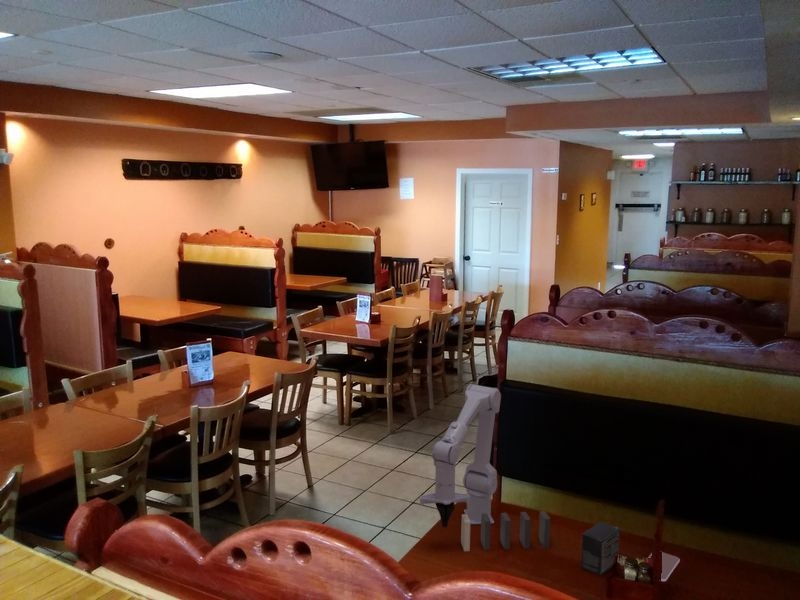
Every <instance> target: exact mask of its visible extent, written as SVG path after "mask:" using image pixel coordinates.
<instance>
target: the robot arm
mask: <svg viewBox="0 0 800 600" xmlns="http://www.w3.org/2000/svg"><path fill="white" fill-rule="evenodd" d="M464 393H465V394H464V402H465V403H464V405H463V406H462V409H461V411H460V413H459V416H458V417H457V420H456V421H452V422H451V423H450V425H449V426H448V428H447V430H446V431H445V433H444V435H443V436H442V438H441V440H438V441H437V442H435V443H434V444H433V447H432V451H431V458H432V461H433V465H434V467H435V473H434V474H435V475H434V476H435V477H434V478H435V479H434V480H435V482H434V485H435V486H434V487H435V488H434V489H435V490H434V493H430V494H426V495H425V494H424V495H420V496H419V503H420V505H421V506H423V505H425V504H435V506H436V509H437V511H438V514H439V517H440V523H441V524H440V525H441V527H442V528H448V524H449V521H450V518H451V515H452V514H453V512H454V511H455V508H456V505H455V503H466V509H464V510H463V512H464V514H467V515H468V518H469V520H470V525H481V514H485V513H487V515H488V517H489V519H490V521H491V524H494V523H495V520H494V519H493V516H492V515H491V514H492V513H491V512H492V510H491V509H492V508H491V506H492V495H493V494H495V492H496V491H497V488H498V472H497V469H495V467H494V466H492V464H491V463H490V460H491V453H492V446H493V445H492V443H493V435H494V429H495V427H494V426H495V417H496V414H498V413H499V412H500V406H501V399H502V393H501V392H500V390H499V389H498V388H497V387H490V386H485V385H484V386H483V385H477V384H475V383H470V384H469V385H468V386H467V387H466V389H465V391H464ZM477 414H478V423H477V429H476V430H477V433H476V438H475V439H476V440H475V449H474V457H473V461H472V462H471V463H469V464H468V465H467V466H466V467H465V472H464V473H463V474H464V475H463V478H462V483H463V484H462V485H463V487H464V488H465V489H466V492H467V493H460V492H459V493H458V492H455V491H456V463H457V462H458V460H459V458H460V453H461V450H462V447H461V446H462V445H463V442H464V441H465V439H466V437H467V435H468V434H469V430H468V426H469V425H470V424H471V422H472V421H473V420H474V419H475V417H476V415H477Z"/></svg>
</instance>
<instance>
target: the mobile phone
mask: <svg viewBox="0 0 800 600" xmlns="http://www.w3.org/2000/svg"><path fill="white" fill-rule="evenodd" d="M661 552H662V573H661V581H660V582H667V580H668V578H669V577H670V575H672V573H673V571H674V570H675V568H677V566H678V564H679V563H680V561H681V559H680V558H679V557H678V556H677V555H672V554H669V553H666V552H663V551H661ZM651 556H652V553H651V554H649V556H648V557H647V559H648V558H651Z"/></svg>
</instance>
